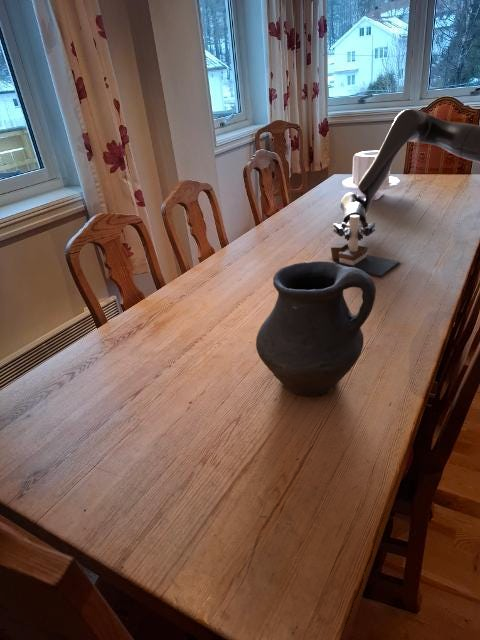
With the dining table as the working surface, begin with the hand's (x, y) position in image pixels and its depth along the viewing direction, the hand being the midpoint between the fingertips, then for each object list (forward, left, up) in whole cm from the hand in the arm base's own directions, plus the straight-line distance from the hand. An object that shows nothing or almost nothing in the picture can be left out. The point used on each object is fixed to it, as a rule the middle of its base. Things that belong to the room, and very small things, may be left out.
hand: (353, 237), depth 130 cm
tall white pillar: (+2, -3, -8) cm, 9 cm away
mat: (-3, -2, -9) cm, 10 cm away
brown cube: (+6, -3, -9) cm, 11 cm away
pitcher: (-23, +55, -9) cm, 60 cm away
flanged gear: (+35, -73, -9) cm, 82 cm away
